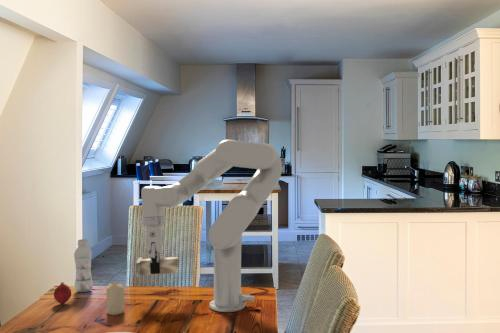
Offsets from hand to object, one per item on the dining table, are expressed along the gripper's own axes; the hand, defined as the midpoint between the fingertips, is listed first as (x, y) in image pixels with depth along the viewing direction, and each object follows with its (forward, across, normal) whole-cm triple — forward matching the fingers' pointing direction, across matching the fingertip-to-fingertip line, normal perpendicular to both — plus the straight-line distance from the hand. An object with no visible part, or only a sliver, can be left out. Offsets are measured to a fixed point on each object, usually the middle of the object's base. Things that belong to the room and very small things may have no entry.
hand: (155, 271), depth 172 cm
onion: (+10, +2, +33) cm, 35 cm away
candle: (+11, -8, +13) cm, 19 cm away
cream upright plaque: (+1, 0, 0) cm, 1 cm away
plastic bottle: (+10, +16, +29) cm, 35 cm away
